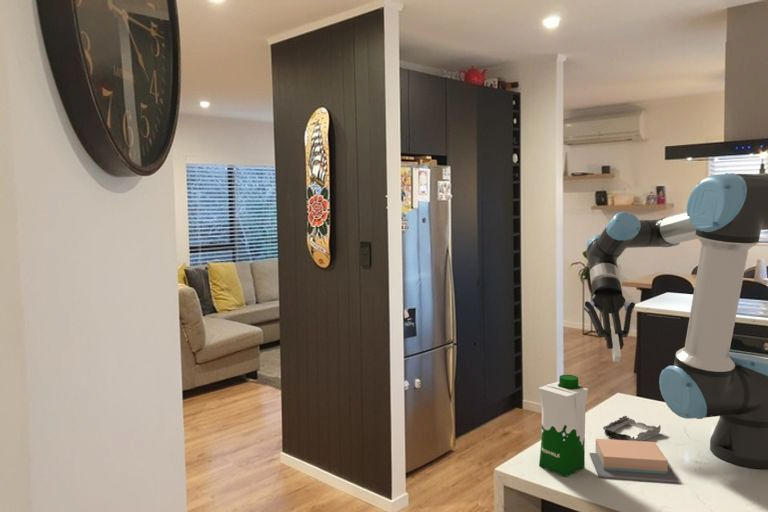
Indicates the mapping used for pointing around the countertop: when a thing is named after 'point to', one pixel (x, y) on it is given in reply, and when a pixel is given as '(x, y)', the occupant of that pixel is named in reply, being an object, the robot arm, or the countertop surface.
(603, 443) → the terracotta tile
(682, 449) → the countertop surface
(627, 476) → the rubber mat
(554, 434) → the milk carton
